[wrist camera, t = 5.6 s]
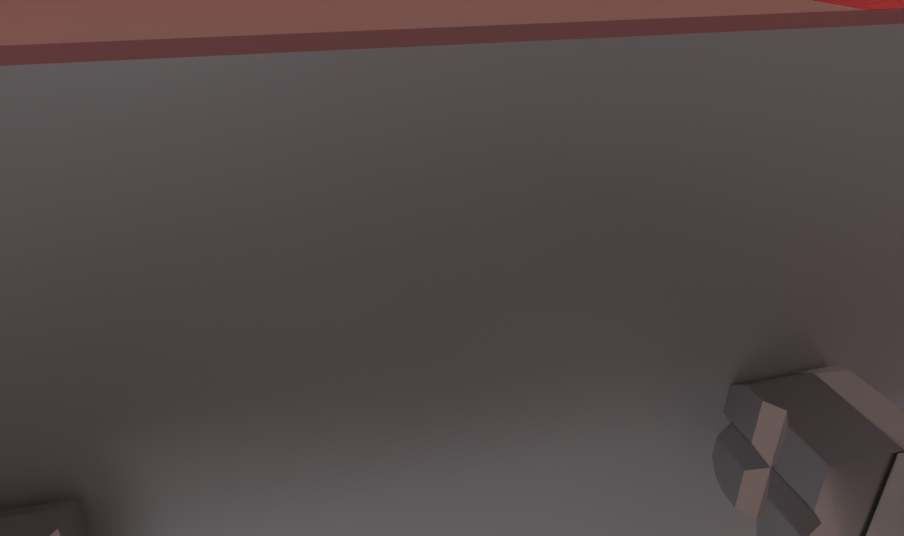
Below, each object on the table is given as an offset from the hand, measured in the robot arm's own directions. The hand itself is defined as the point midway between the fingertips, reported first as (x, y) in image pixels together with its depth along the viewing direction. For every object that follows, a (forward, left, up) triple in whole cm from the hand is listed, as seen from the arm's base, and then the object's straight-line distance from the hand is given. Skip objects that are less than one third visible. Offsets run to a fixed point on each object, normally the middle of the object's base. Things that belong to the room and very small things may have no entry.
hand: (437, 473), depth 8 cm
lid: (0, +2, -1) cm, 3 cm away
